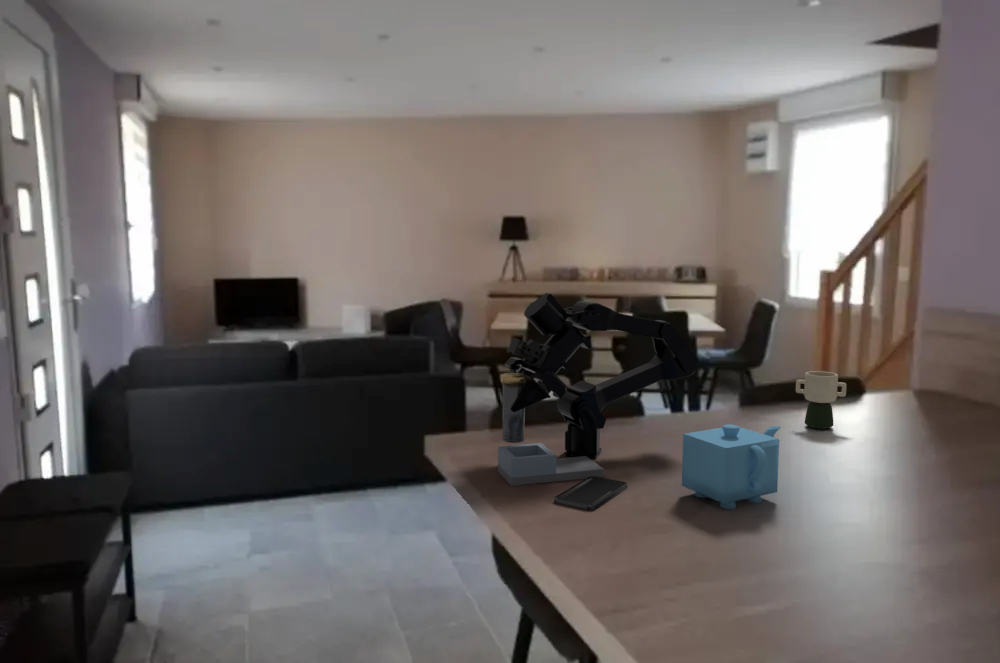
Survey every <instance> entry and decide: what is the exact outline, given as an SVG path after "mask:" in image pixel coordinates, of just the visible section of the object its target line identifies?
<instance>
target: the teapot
mask: <svg viewBox="0 0 1000 663" xmlns="http://www.w3.org/2000/svg"><path fill="white" fill-rule="evenodd" d="M781 428H782V427H781V426H779V425H775V426H770V427H768V428H767V429H766V430H765V431H764V433H761V432H758V431H754V430H750V429H749V428H748V429H747V428H744V427H741V426H738V425H735V424H728V423H727V424H723V425H722V426H721V427H719V428H716V427H715V428H711V429H705V430H698V431H692V432H688V433H687V432H686V433H684V434H682V459H681V460H682V461H681V463H682V464H681V486H682V487H684V488H686V489H689V490H691V491H694V492H695V493H694V496H695V497H698V498H702V499H703V498H704V499H705V498H709V499H712V500H713V501H716V502H718V503H720V505H719V507H721V508H722V509H725V510H734V509H736V508H737V507H736V502H740V501H742V500H743V501H744V500H747V501H748V502H750V503H753V504H754V503H756V504H759V503H763V502H764V500H763V498H762V496H766V495H771V494H774V493H777V492H778V484H779V483H778V480H779V463H780V462H779V457H780V439H779V438H777V437H775V434H777V432H778V431H779V430H780V429H781Z"/></svg>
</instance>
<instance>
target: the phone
mask: <svg viewBox="0 0 1000 663" xmlns="http://www.w3.org/2000/svg"><path fill="white" fill-rule="evenodd" d="M626 489H628V482H626V481H622V480H618V479H611V478H605V477H597V476H590V477H588V478H584V479H582V480H581V481H580V482H578V483H576V484H574V485H573V486H571V487H569V488H568V489H566V490H564V491H562V492H561V493H559V494H558V495H556V496H554V504H556V505H561V506H565V507H568V508H574V509H578V510H583V511H587V512H591V511H593V512H594V511H596V510H597V509H599V508H601V506H603V505H605V504H606V503H608V502H609V501H610V500H613V498H615V497H617V495H619V494H621V493H622V492H623V491H624V492H625V490H626Z"/></svg>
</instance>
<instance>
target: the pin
mask: <svg viewBox="0 0 1000 663" xmlns="http://www.w3.org/2000/svg"><path fill="white" fill-rule="evenodd" d="M500 382H501V383H502V400H503V406H502V441H503V442H504V443H510V444H518V443H522V442H524V441H525V423H526V422H525V415H526V414H525V413H526V412H525V409H526V407H525V408H523V409H521V410H518V411H516V412H512V411H511V410H510V408H511V406H512V405H513V403H514V401H515V400H516V399H517V397H518V396H519V394H520V393H521V391H522V390H523V389H524V387H525V382H526V374H522V373H510V372H508V373H507V372H505V373H502V374H500Z"/></svg>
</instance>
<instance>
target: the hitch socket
mask: <svg viewBox="0 0 1000 663" xmlns="http://www.w3.org/2000/svg"><path fill="white" fill-rule="evenodd" d="M497 472H498V473H499V475H501V477H503V478H504V480H505V481H506V482H507V483H508V485H510V486H511V487H513V486H522V485H532V484H542V483H543V484H544V483H553V482H561V481H562V482H564V481H572V480H573V481H574V480H584V479H586V478H588V477H590V476H597V477H602V478H605V477H604V476H605V475H604V474H605V468H603V467H602V466H600V465H599V464H598V463H596V462H595V461H594V460H593V459H592V458H588V457H587V456H581V457H574V456H569V457H561V458H557V454H556V453H554V452H553V451H552V450H550V448H548V447H546V446H545V444H543V443H542V442H538V443H537V442H536V443H526V444H525V443H524V444H514V445H513V444H512V445H503V446H501V445H500V446H497Z"/></svg>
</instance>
